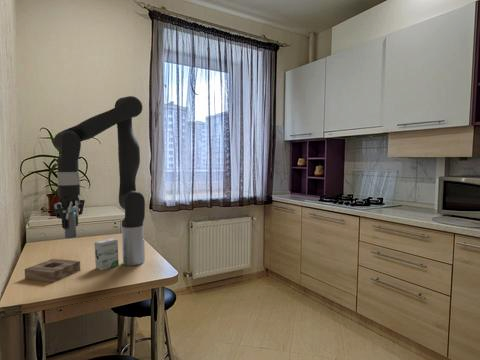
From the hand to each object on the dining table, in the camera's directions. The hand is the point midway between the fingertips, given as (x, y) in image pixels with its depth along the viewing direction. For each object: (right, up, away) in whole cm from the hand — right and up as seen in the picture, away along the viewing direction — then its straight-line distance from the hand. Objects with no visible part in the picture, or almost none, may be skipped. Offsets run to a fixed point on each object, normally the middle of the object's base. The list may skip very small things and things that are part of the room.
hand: (70, 227), depth 124 cm
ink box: (+7, -20, +18) cm, 28 cm away
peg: (0, -4, 0) cm, 4 cm away
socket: (-11, -21, +8) cm, 25 cm away
